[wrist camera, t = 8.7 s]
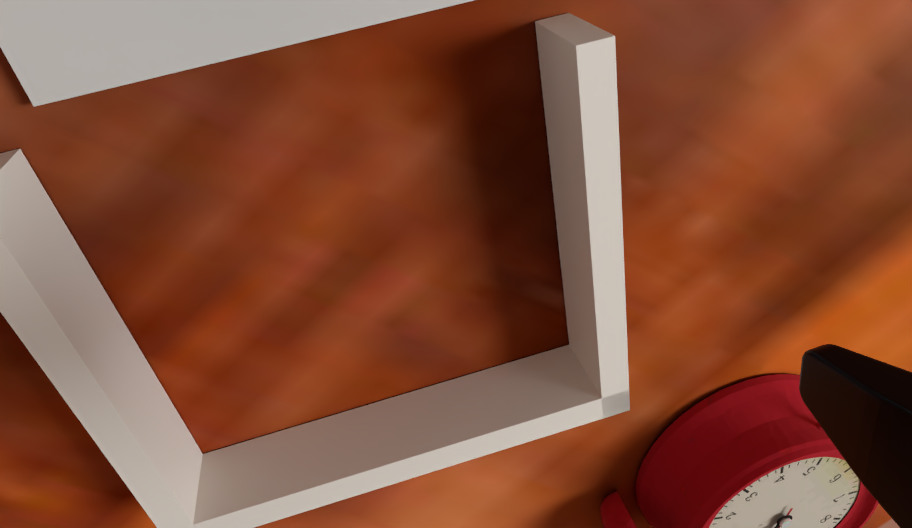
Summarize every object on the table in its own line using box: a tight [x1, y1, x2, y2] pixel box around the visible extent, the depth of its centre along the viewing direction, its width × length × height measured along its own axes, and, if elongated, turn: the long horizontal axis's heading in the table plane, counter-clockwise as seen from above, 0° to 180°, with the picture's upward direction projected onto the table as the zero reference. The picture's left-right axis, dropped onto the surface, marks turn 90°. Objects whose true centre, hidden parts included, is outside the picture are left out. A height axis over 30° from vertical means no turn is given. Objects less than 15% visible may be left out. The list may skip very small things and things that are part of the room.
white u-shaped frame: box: [0, 13, 630, 528], centre depth 20 cm, size 16×13×3 cm
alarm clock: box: [600, 374, 878, 528], centre depth 29 cm, size 10×6×15 cm
